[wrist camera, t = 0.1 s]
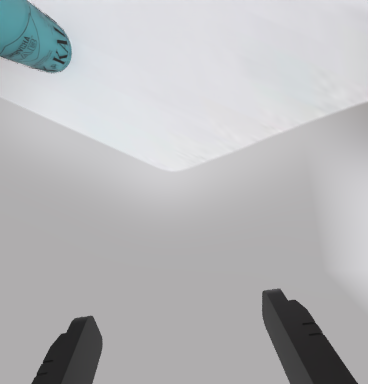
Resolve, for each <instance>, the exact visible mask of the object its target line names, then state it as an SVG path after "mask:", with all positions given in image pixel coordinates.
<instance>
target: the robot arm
mask: <svg viewBox="0 0 368 384" xmlns="http://www.w3.org/2000/svg"><path fill="white" fill-rule="evenodd" d="M262 315H263V320H264V324H265V326H266V329H267V331H268V333H269V336H270V338H271V340H272V343H273V345H274V348H275V350H276V352H277V354H278V357H279V358H280V361H281V363H282V366H283V368H284V370H285V373H286V375H287V377H288V380H289V382H290V384H358V383H357V382H356V381H355V379H354V378H353V376H352V375H351V373H350V372H349V370H348V369H347V368H346V366H345V365H344V363H343V362H342V360H341V359H340V357H339V356H338V354H337V353H336V352H335V350H334V349H333V347H332V346H331V344H330V343H329V341H328V340H327V338H326V337H325V335H323V333H322V331H321V329H320V328H319V326H318V325H317V324H316V323H315V321H314V319H313V318H312V316H311V315H310V313H309V312H308V310H307V309H306V308H305V307H303V306H302V305H301V304H300V303H299V302H297V301H296V300H289V301H288V300H287V298H286V297H285V295H284V294H283V292H282V291H281V289H272V290H266V291H263V293H262ZM101 351H102V336H101V334H100V331H99V329H98V327H97V325H96V322H95V320H94V318H93V316H87V317H80V318H75V319H74V320H73V321H72V322H71V324H70V326H69V329H68V330H67V333H64V334H61V335H60V336H59V337H58V338H57V340H56V341H55V342H54V343H53V345H52V346H51V347H50V349H49V351H48V353H47V355H46V357H45V359H44V360H43V364H41V366H40V368H39V370H38V372H37V376H36V377H35V378H34V380H33V382H32V384H92V383H93V379H94V376H95V372H96V369H97V365H98V362H99V358H100V355H101Z"/></svg>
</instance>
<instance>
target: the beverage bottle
mask: <svg viewBox="0 0 368 384" xmlns="http://www.w3.org/2000/svg"><path fill="white" fill-rule="evenodd" d="M33 5H34V4H33ZM33 5H32V4H31V3H30V2H28V1H27V0H0V57H3V58H4V59H5V58H6V59H8V60H12V61H13V62H15V63H16V62H19V63H22V64H25V65H28V66H31V67H29V68H32V67H34V69H40V70H43V71H46V72H59V71H60V72H61V71H62V70H64V69H65V68H66V67H67V66H68V65H69V63H70V60H71V55H72V51H71V45H70V42H69V38H68V37H67V35H66V34H65V33H66V32H64V30H63V29H61V28H60V27H59V26H60V25H59V26H58V25H57V24H56V23H57V22H55V21H54V20H53V19H52V20H53V21H54V22H53V21H52V20H51V18H50V17H49V16H48V15H45V14H44V13H42V12H41V11H40V10H41V9H40V10H39V9H37V8H36V7H35V6H33ZM47 16H48V17H47ZM17 64H18V63H17ZM26 67H27V66H26ZM43 71H42V72H43ZM51 74H52V73H51Z"/></svg>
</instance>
